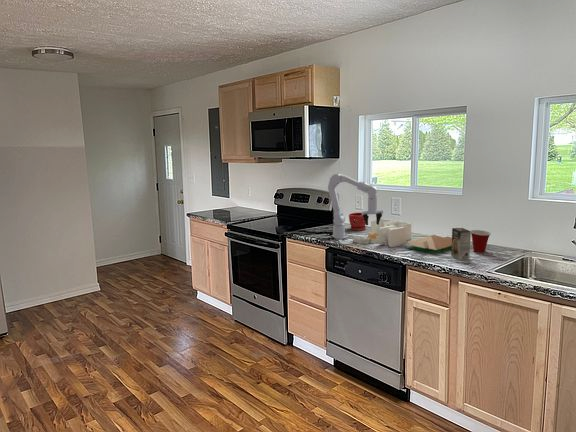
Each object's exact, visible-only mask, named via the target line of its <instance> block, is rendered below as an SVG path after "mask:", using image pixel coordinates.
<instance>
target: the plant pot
mask: <svg viewBox="0 0 576 432" xmlns="http://www.w3.org/2000/svg"><path fill="white" fill-rule="evenodd" d="M348 221H349V224H350V229H351V230H352V231H365V229H367V225H366V223H365V220H364V217H363V215H362V212H352V213H349V214H348Z"/></svg>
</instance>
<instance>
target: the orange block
mask: <svg viewBox="0 0 576 432" xmlns="http://www.w3.org/2000/svg"><path fill="white" fill-rule="evenodd" d="M377 236H378V235H377V234H375V233H371V232H370V233H368V237H367V238H369V239H377Z"/></svg>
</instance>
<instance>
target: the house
mask: <svg viewBox="0 0 576 432" xmlns="http://www.w3.org/2000/svg"><path fill="white" fill-rule="evenodd" d="M404 245H405V247H404V248H406V249H408V248H409V246H410V247H412V249H415V251H417V252H421V253H424V254H426V253H429V254H430V253H432V254H434V255H437V254H439V253H441V252H442V253H443V251H444V252H446V251H447V250H448V251H451V249H452V236H451V237H450V236H444V237H443V236H441V235H440V236H438V235H436V234H431V235H429V236H424V237H421V238H417V239H414V240H410V241H409V240H408V241H406V243H404Z"/></svg>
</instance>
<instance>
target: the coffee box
mask: <svg viewBox="0 0 576 432" xmlns="http://www.w3.org/2000/svg"><path fill="white" fill-rule="evenodd" d="M451 238H452V246H451V247H452V248H451V250H450V251H451V253H450V254H451V255H450V256H451V257H452V258H454V259H455V260H457V259H458V260H457V261H466V260H465V259H469V260H470V255H471V254H470V253H471V252H470V251H471V239H472V235H471V230H469V229H466V228H463V227H453V228H451Z"/></svg>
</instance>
